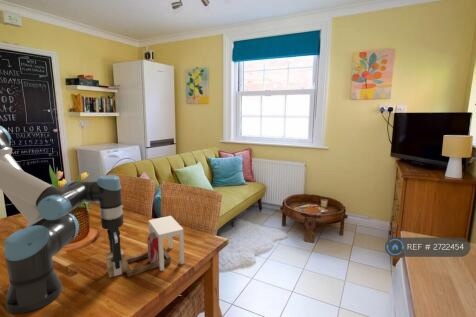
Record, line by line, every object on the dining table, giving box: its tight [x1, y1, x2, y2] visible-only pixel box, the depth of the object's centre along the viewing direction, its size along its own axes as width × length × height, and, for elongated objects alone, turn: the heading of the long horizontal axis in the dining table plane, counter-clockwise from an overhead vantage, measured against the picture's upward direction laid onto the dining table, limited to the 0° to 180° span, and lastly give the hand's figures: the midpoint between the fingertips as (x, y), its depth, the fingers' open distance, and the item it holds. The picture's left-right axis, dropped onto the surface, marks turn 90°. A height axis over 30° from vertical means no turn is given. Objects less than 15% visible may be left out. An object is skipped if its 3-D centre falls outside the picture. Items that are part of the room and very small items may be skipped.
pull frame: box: [105, 246, 172, 278], centre depth 107 cm, size 23×11×8 cm, turn 123°
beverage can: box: [146, 231, 159, 264], centre depth 110 cm, size 6×6×12 cm
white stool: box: [148, 215, 185, 272], centre depth 112 cm, size 10×16×16 cm, turn 33°
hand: (117, 271), depth 103 cm, fingers closed on pull frame, 4 cm apart
